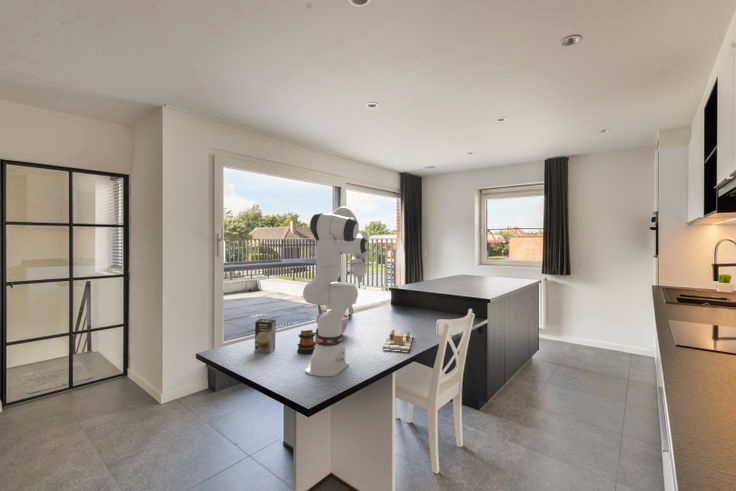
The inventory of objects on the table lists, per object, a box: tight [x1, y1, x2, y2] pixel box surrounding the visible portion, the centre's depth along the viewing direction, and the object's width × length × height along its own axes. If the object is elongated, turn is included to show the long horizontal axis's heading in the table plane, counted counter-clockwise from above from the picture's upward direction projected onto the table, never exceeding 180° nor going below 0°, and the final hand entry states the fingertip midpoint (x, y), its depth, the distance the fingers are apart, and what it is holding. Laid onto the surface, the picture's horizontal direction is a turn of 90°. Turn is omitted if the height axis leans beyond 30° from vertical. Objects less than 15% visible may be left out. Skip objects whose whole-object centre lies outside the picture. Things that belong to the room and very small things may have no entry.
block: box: [394, 332, 404, 343], centre depth 190 cm, size 4×4×4 cm
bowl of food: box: [315, 313, 350, 335], centre depth 207 cm, size 20×20×12 cm
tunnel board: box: [382, 329, 414, 352], centre depth 193 cm, size 28×14×5 cm, turn 168°
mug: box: [296, 327, 318, 356], centre depth 178 cm, size 13×10×12 cm
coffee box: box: [254, 318, 277, 354], centre depth 177 cm, size 9×6×16 cm
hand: (359, 282), depth 196 cm, fingers closed
